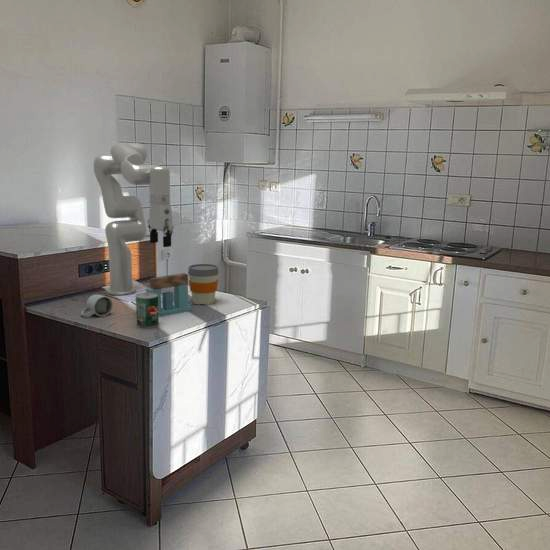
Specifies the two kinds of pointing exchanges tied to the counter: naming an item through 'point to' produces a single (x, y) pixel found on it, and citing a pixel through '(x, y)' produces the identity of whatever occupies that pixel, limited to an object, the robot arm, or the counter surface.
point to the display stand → (167, 300)
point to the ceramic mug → (97, 306)
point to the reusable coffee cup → (203, 283)
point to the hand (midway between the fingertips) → (160, 244)
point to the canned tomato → (147, 309)
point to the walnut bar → (168, 281)
